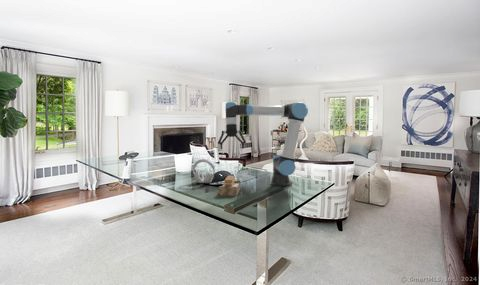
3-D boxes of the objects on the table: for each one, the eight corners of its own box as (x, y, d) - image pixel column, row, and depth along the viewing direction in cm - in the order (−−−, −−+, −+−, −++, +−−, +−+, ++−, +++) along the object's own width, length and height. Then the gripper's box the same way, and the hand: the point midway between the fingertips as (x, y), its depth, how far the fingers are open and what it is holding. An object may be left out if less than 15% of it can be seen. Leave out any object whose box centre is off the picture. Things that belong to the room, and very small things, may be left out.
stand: (240, 188, 200) (240, 180, 199) (236, 195, 180) (236, 187, 180) (225, 187, 202) (224, 180, 201) (219, 195, 182) (218, 186, 181)
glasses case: (235, 183, 197) (235, 175, 197) (231, 188, 183) (231, 179, 183) (228, 183, 198) (228, 175, 197) (224, 188, 184) (224, 179, 183)
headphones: (216, 182, 220) (216, 158, 218) (213, 185, 210) (212, 160, 208) (195, 181, 223) (195, 158, 221) (191, 184, 213) (190, 159, 211)
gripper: (249, 123, 191) (249, 152, 193) (215, 124, 194) (216, 152, 196) (248, 123, 184) (249, 153, 186) (213, 124, 187) (214, 154, 189)
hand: (232, 153), depth 191 cm, fingers open, 13 cm apart
